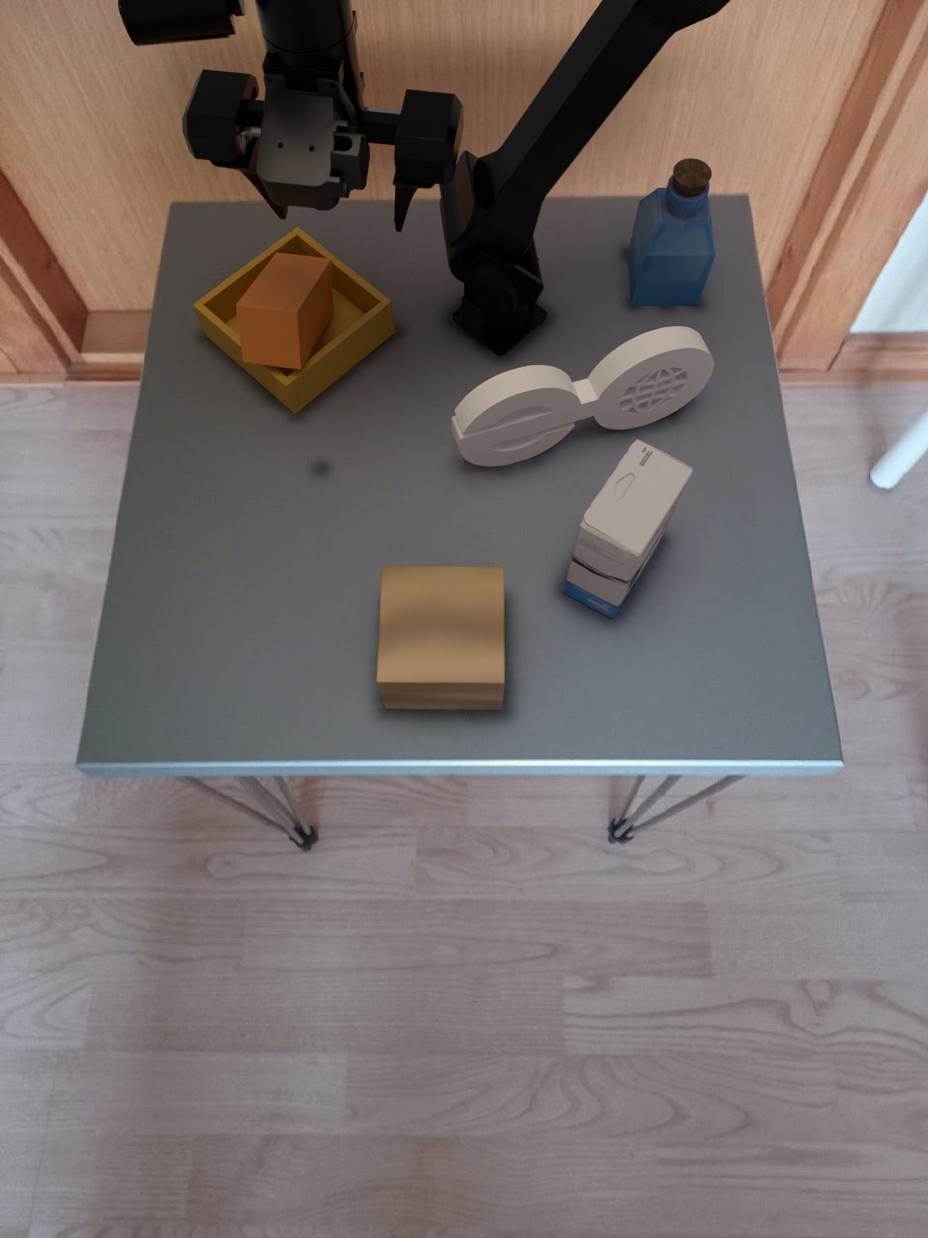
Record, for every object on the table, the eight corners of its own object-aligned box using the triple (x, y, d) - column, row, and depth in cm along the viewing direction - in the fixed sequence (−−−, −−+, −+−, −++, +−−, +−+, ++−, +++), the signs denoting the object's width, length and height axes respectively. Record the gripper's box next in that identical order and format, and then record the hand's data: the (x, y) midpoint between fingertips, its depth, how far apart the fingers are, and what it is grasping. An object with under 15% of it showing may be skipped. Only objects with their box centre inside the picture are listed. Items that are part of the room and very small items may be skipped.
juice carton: (276, 251, 77) (235, 304, 69) (331, 258, 77) (297, 312, 69) (280, 306, 80) (242, 362, 73) (333, 312, 80) (301, 369, 72)
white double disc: (687, 390, 78) (716, 312, 68) (696, 409, 77) (728, 333, 67) (452, 457, 75) (450, 386, 66) (460, 478, 74) (459, 410, 65)
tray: (305, 259, 83) (297, 226, 79) (395, 332, 80) (391, 301, 76) (205, 335, 80) (192, 304, 76) (295, 414, 77) (285, 385, 73)
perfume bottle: (698, 305, 81) (734, 201, 70) (631, 305, 81) (656, 200, 70) (692, 253, 83) (726, 144, 72) (627, 253, 83) (651, 144, 72)
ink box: (613, 622, 70) (640, 559, 59) (559, 592, 71) (576, 524, 60) (662, 540, 72) (697, 465, 61) (609, 512, 73) (634, 434, 62)
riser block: (390, 601, 70) (381, 565, 64) (501, 602, 70) (504, 565, 64) (385, 709, 67) (375, 682, 61) (501, 710, 67) (505, 683, 60)
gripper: (123, 99, 51) (199, 289, 66) (436, 130, 50) (443, 317, 65) (173, -25, 55) (235, 180, 70) (464, 1, 54) (465, 204, 69)
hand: (341, 221), depth 68 cm, fingers open, 9 cm apart
